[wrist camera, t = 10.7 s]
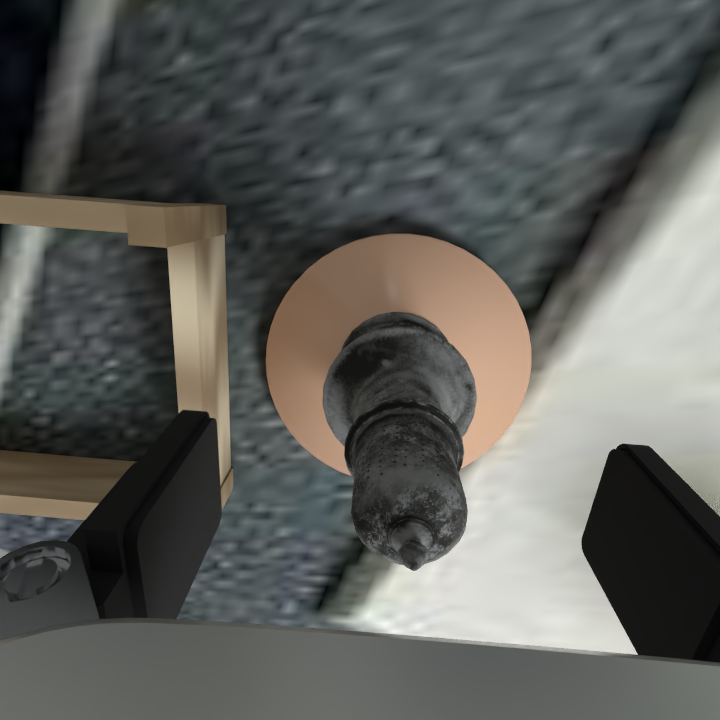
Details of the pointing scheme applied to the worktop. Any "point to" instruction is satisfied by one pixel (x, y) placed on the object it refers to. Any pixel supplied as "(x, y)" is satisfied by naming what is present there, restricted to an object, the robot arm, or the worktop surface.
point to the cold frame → (190, 333)
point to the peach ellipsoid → (408, 295)
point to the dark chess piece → (402, 435)
